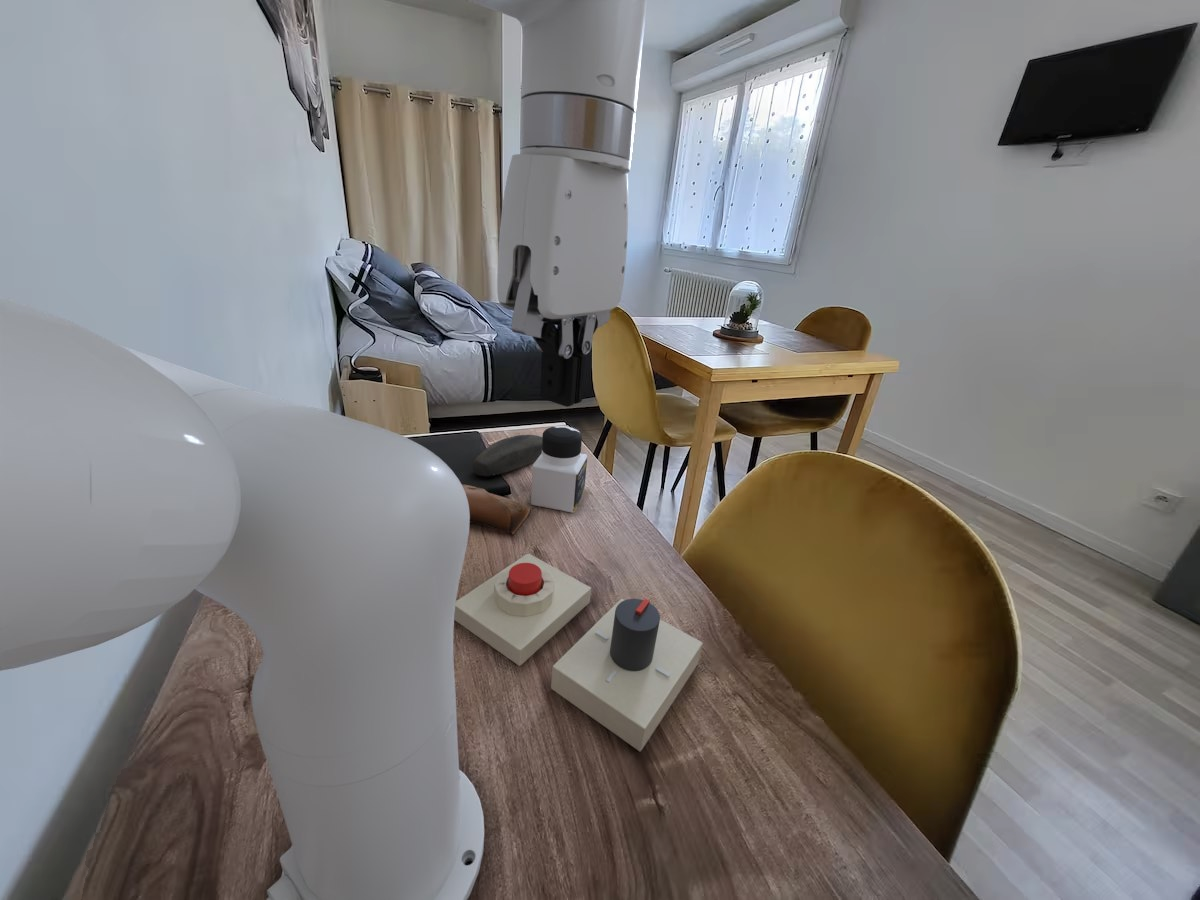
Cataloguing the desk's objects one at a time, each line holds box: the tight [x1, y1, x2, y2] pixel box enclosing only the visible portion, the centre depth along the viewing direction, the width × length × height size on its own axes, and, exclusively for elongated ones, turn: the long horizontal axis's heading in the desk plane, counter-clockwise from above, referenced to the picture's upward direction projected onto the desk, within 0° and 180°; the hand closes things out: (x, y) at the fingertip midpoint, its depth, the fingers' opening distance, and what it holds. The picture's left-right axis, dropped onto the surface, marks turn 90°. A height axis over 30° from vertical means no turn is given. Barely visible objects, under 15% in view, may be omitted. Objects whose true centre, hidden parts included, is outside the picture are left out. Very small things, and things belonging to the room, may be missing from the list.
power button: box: [508, 563, 542, 596], centre depth 53 cm, size 4×4×2 cm
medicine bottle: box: [530, 425, 588, 514], centre depth 76 cm, size 7×7×12 cm
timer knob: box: [610, 597, 661, 671], centre depth 46 cm, size 4×4×5 cm
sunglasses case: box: [461, 483, 532, 535], centre depth 72 cm, size 18×7×7 cm, turn 75°
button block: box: [454, 552, 592, 667], centre depth 54 cm, size 12×10×4 cm
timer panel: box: [550, 598, 704, 752], centre depth 48 cm, size 12×10×3 cm
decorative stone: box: [471, 434, 542, 477], centre depth 88 cm, size 17×6×4 cm, turn 151°
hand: (560, 400), depth 40 cm, fingers closed
